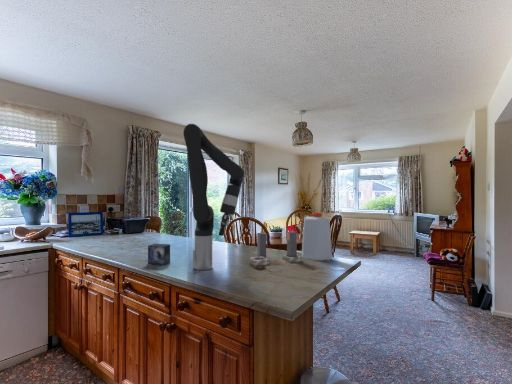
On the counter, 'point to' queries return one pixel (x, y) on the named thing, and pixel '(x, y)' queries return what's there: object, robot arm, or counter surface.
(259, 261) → the wooden base with sockets
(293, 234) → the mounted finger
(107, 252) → the counter surface
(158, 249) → the small box
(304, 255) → the grey bottle
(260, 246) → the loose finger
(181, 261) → the counter surface
